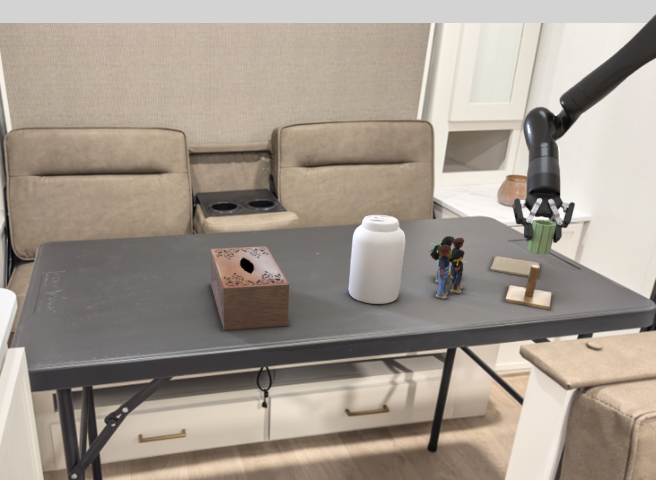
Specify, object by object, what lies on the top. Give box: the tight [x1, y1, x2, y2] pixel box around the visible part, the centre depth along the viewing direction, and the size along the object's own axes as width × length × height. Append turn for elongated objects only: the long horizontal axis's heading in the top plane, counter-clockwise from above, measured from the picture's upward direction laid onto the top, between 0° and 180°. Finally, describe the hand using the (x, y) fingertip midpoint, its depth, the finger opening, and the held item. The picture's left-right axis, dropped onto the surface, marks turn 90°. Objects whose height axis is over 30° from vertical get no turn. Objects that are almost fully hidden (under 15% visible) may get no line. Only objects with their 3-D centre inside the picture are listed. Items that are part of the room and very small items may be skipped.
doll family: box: [429, 235, 467, 300], centre depth 150 cm, size 23×9×13 cm, turn 170°
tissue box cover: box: [210, 245, 290, 331], centre depth 138 cm, size 26×14×10 cm, turn 10°
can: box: [348, 214, 406, 305], centre depth 142 cm, size 12×12×20 cm
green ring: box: [526, 219, 556, 256], centre depth 140 cm, size 5×5×7 cm
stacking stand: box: [504, 265, 552, 311], centre depth 144 cm, size 10×10×9 cm
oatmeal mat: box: [489, 255, 541, 278], centre depth 166 cm, size 12×12×1 cm
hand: (542, 239), depth 139 cm, fingers closed on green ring, 5 cm apart
